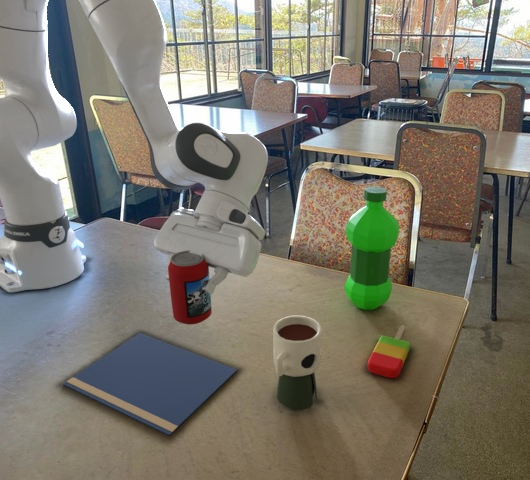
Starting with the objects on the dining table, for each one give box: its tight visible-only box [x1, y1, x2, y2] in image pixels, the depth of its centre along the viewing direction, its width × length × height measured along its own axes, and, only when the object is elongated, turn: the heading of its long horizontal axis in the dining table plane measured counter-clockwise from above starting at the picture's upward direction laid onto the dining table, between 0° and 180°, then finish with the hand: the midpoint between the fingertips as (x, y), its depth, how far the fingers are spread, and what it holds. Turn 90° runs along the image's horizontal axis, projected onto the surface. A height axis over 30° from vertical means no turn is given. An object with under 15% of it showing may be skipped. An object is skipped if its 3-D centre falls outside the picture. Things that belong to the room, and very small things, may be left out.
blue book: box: [62, 332, 238, 436], centre depth 78 cm, size 22×16×1 cm
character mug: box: [272, 314, 323, 411], centre depth 72 cm, size 11×7×13 cm, turn 153°
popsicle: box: [367, 324, 411, 379], centre depth 86 cm, size 6×15×2 cm, turn 157°
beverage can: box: [167, 251, 213, 326], centre depth 84 cm, size 7×7×12 cm
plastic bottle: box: [344, 186, 400, 311], centre depth 96 cm, size 10×10×25 cm
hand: (187, 286), depth 83 cm, fingers closed on beverage can, 7 cm apart
